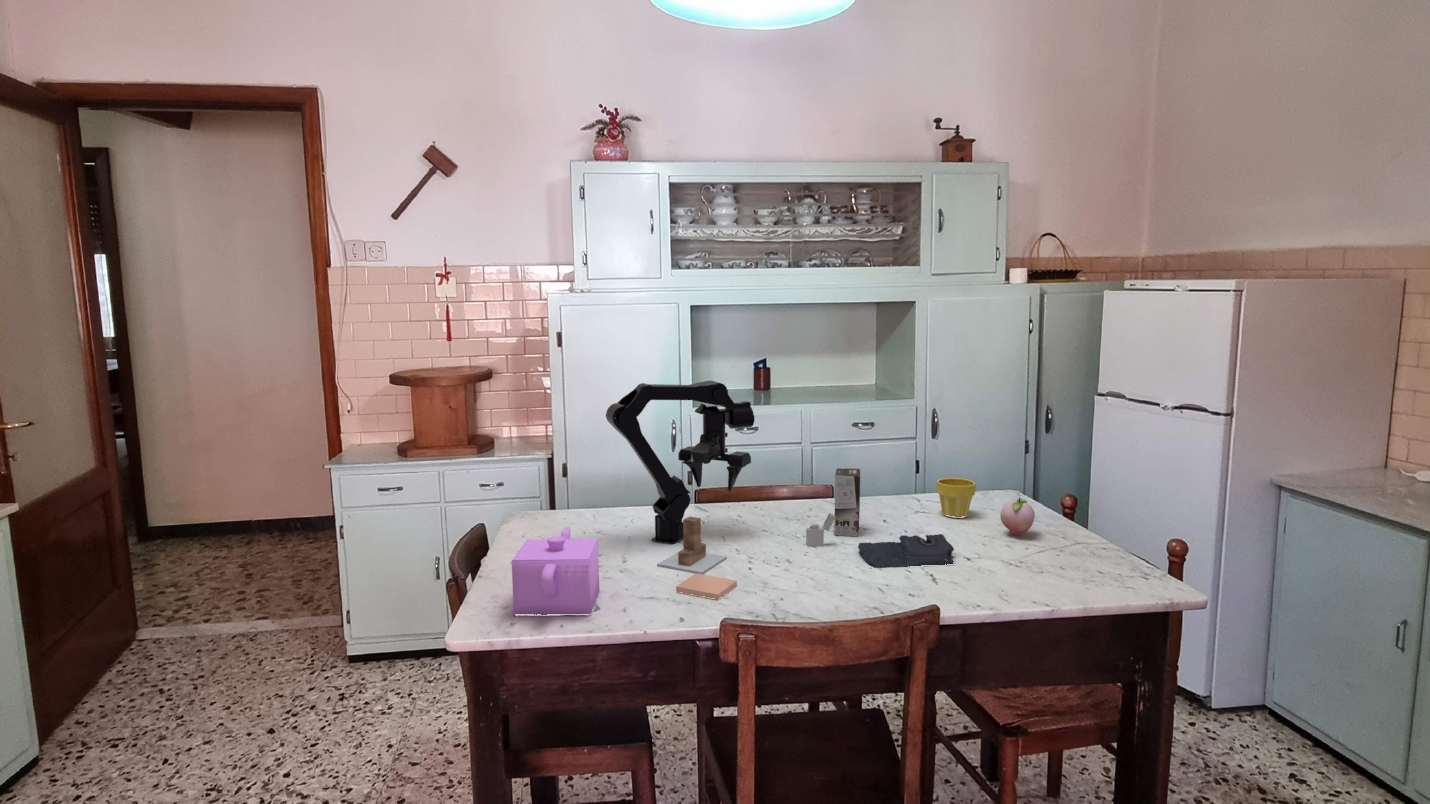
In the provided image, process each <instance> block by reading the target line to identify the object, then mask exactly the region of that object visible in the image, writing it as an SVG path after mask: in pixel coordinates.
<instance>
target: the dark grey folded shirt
mask: <svg viewBox="0 0 1430 804" xmlns="http://www.w3.org/2000/svg"><path fill="white" fill-rule="evenodd" d="M925 538H926V539H925ZM925 538H923V537H920V536H919V535H911V536H909V535H905V534H904V535H899V542H898V541H897V542H896V541H881V542H880V541H879V542H859V543H858V544H857V545H858V546H857V549H858V550H859V553H860V554H861V555H862V557H863V559H864V560H865V561H866V563H867V564H868V565H869V566H871V567H873V568H875V569H888V568H889V569H890V568H911V567H910V566H921V565H945V564H946V565H947V564H953V562H954V561H955V560H954V559H953V558H952V559H953V560H954V561H953V560H952V559H951V558H950V557H952V554H953V552H954V551H955V548H954V546H953V545H952V544H951V543H950V542H949V541H948V540H947V538H946V537H945V535H944V534H941V533H939V534H929V535H928V534H926V535H925ZM908 566H909V567H908ZM947 566H948V565H947Z"/></svg>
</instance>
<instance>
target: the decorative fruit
mask: <svg viewBox="0 0 1430 804" xmlns="http://www.w3.org/2000/svg"><path fill="white" fill-rule="evenodd" d="M1035 516H1036V514H1035V510H1034V508H1033V507H1032V504H1031V505H1030V504H1029V503H1028V501H1027V500H1026V499H1023V498H1021V497H1018V499H1016V500H1013V501H1009V502H1007V503H1005V504H1004V505H1003V507H1002V508H1001V510H1000V521H1001V523H1002V525H1003V526H1004V527H1005V528H1006V529H1007V530H1008V531H1009V532H1011V533H1013V534H1014V535H1017V534H1018V535H1017V536H1020V534H1021V535H1023V534H1025V533H1027V532H1028V531H1029V530H1030V529H1031V528H1032V526H1033V524H1034V521H1035V518H1036V517H1035Z"/></svg>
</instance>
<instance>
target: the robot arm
mask: <svg viewBox="0 0 1430 804" xmlns="http://www.w3.org/2000/svg"><path fill="white" fill-rule="evenodd" d="M650 401H695V402H698V403H699V402H700V405H699V406H698V407H697V408H696V409H695V410H694V413H697V414H699V415H702V434H700V437H699V442H698V443H696V445H695V446H686V447H684V448H681V449H680V450H679V451H678V454H677V455H678V456H677V457H678V459H677V460H678V461H682V464H684V465H686V466H687V467H688V468H689V469H690V471H691V473H692V476H693V478H694V483H695V484H696V487H697V488H700V487H701V486H702V478H703V477H702V475H703V465H707V464H710V463H711V462H712V461H720V462H727V464H728V466H727V467H726V470H727V471H728V472H727V473H728V474H727V475H728V476H727V477H728V478H727V481H728V482H727V488H728V489H727V490H728V492H731V491H732V490H733V488H734V486H735V483H736V481H737V478H738V476H739V474H740V473H741V471H742V468H744V467H747V465H749V464H751V463H752V457H751V454H750V453H749V452H748V451H747V452H745V451H737V450H736V451H734V452H732V453H729V454H728V451H729V450H728V449H729V448H728V447H726V438H728V434H729V433H728V432H726V426H728V428H729V429H741V428H742V429H743V428H745V429H746V428H752V427H753V426H754V424H755V414H754V411H753V408H752V407H751V406H752V404H751V402H750V401H748V400H747V401H740V402H734V401H733V400H732V398H731V396H730V395H729V390H728V388H727V386H726V384H724V383H721V382H718V381H714V380H705V381H698V382H694V383H691V384H661V383H660V384H657V383H655V384H653V383H652V384H651V383H643V382H642V383H639V384H637V386H636V387H635V388H633V390H631V391H630V392H629V393H627V394H625V396H623V397H622V398H621V399H620V400H619V401H618V402H615V403H613V404H611V405H610V406H609V407H608V408H607V410H606V412H605V418H606V420H607V422H608V423H609V424H610V425H611V426H612V428H613V429H615V431H617V432H618V433H619V434H620V435H621V436H622V437H623V438H624V439H625V440H626V441H627V443H628V444H629V445H630V447H631V448H632V450H633V451H634V453H635V454H636V456H637V457H638V459H639V460H640V462H641V463H642V465H643V467H644V468H645V469H646V472H647V473H648V474H649V475H650V477H651V478H652V480H653V481H654V483H655V487H656V491H657V493H658V495H659V497H658V498H657V500H656V501H655V502H654V503H653V504H652V509H653V512H654V514H656V515H654V530H655V531H654V534H655V535H654V537H651V541H652V542H659V543H664V544H670V545H674V544H676V543H678V542H679V541H682V540H683V520H684V519H683V518H684V516H685V512H686V510H687V509H688V508H689V506H690V502H691V497H690V494H691V491H689V490H688V489H687V487H686V485H685V483H684V481H683V480H682V479H680V478H679V477H678V476H676V475H673V476H672V477H671V475H670V474H669V472H668V471H667V470H666V467H665V466H664V465H663V463H662V462H661V460H660V458H659V457H658V455H657V454H656V452H655V451H654V449H653V448H652V447H651V445H650V443H649V441H647V439H646V438H645V436H644V434H643V433H642V428H641V426H640V422H639V420H638V416H640V414H641V413H642V412H643V411H644V409H645V408H646V406H647V405H648V404H649V403H650ZM706 404H709V405H710V406H707V405H706ZM711 405H712V406H711ZM718 406H720V407H723V408H719V407H718Z"/></svg>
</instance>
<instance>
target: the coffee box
mask: <svg viewBox="0 0 1430 804" xmlns="http://www.w3.org/2000/svg"><path fill="white" fill-rule="evenodd" d="M834 477H835V481H834V482H835V483H834V515H835V516H836V517H835V519H834V521H833V523H834V527H833V528H834V530H833V535H834V536H845V537H854V538H855V537H856V536H857V537H858V536H859V529H860V511H861V510H860V507H861V469H860V468H847V467H846V468H836V469H835V476H834Z"/></svg>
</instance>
